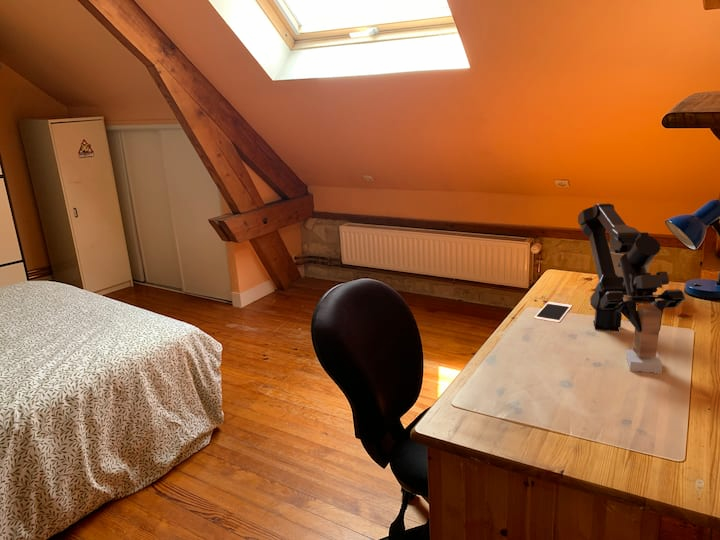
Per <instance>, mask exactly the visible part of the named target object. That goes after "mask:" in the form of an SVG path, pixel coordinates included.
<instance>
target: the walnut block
mask: <svg viewBox="0 0 720 540" xmlns="http://www.w3.org/2000/svg"><path fill="white" fill-rule="evenodd" d="M636 310H637V313H638V317H639V320H640V323H641V328H642V331H641V332H638V331H637V329H636V328H635V327H634V334H633V343H632V350H633V351H634V352H635V353H636V354H637V355H638V356H639V357H656V352H657V353H658V351H657V350H658V345H659V344H658V343H659V334H660V331H659V329H660V330H661V328H660V321H661V322H662V320H661V313H662V311H661V310H659V309H658V308H657V307H655V306H654V305H636Z"/></svg>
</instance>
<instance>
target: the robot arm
mask: <svg viewBox="0 0 720 540" xmlns="http://www.w3.org/2000/svg"><path fill="white" fill-rule="evenodd" d="M577 222H578V225H579V226H580V230H581V232H582V233H583V234H584V235H585V236H586V237H587V238H588V239H589V243H590V246H591V251H592V257H593V260H594V264H595V270H596V273H597V278H598V282H597V284H596V285H595V288H594V293H593V294H592V295H591V296H590V300H589V302H590V306H591V307H592V308H593V309H594V320H593V327H594V330H596V331H605V332H606V331H607V332H608V331H609V332H620V328H621V325H622V316H624V317H625V318H626V319H627V320H628V321H629V322H630V323H631V325H632V326H633V327H634V329H635V328H636V329H637V331H638V332H641V331H642V328H641V323H640V320H639V317H638V313H637V304H650V306H652V305H654V306H655V307H657V308H658V309H659V310H661V311H662V313H661V321H660V329H659V332H660V331H661V327H662V321H663V313H664V310H665V309H674V308H677V307H678V306H679V305H681V303H682V302H683V301H685V300H686V297H685V293H684V292H683V290H682V289H676V288H675V289H665V290H664V291H663V292H662V293H661V294H654V293H656V292H658V289H663V286H665V285H669V283H670V278H669V277H670V276H669V274H668V272H667V271H659V272H656V274H651V272H648V273H647V270H646V266H645V265H647V264H649V263H650V262H651V260H652V261H653V260H654V258H655V257H656V256H657V255H658V254H659V252H661V251H660V250H661V244H660V242H659V240H657V239H656V238H654V237H652V236H650V235H649V231H646V232H640V230H638V229H637V228H636V227H632V226H629V225H627V224H626V223H625V221H624V220H623V219H622V217H621V216H620V215H619V213H618V212H617V211H616V209H615V206H614V204H613V203H610V202H608V203H596V204H593V206H590V207H589V208H586V209H583V210H581V212H579V213H578V216H577ZM607 233H608V235H609V238H610V239H609V242H608V238H607ZM609 246H610V247H611V249H612V250H613V252H614V253H626V254H624V255H623V256H622V257H621V258H620V260H619V262H618V267H621V270H622V274H623V277H618V276H617V275H616V273H615V269H614V265H613V261H612V257H611V253H610V249H609ZM651 263H652V262H651Z"/></svg>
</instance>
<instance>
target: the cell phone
mask: <svg viewBox="0 0 720 540" xmlns="http://www.w3.org/2000/svg"><path fill="white" fill-rule="evenodd" d="M572 307H573V305H572V304H567V303H560V302H553V301H547V302H546V303H545V304H544V305H543V307H542V308H541V309H540V310H539V311H538V312H537V314H535V316H533V319H535V320H540V321H546V322H552V323H559V324H560V322H562V320H563V318H564V317H565V316H566V315H567V314H568V313H569V311H570V310H571V309H572Z"/></svg>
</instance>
